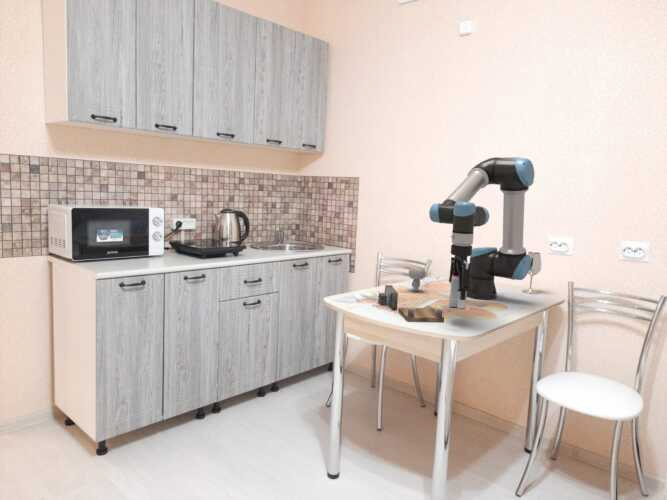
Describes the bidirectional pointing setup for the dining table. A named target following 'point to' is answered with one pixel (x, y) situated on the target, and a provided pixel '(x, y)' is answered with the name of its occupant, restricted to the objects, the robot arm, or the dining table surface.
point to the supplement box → (454, 292)
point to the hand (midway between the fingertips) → (457, 305)
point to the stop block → (382, 299)
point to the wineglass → (533, 269)
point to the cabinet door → (417, 312)
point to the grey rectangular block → (389, 293)
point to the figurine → (416, 276)
